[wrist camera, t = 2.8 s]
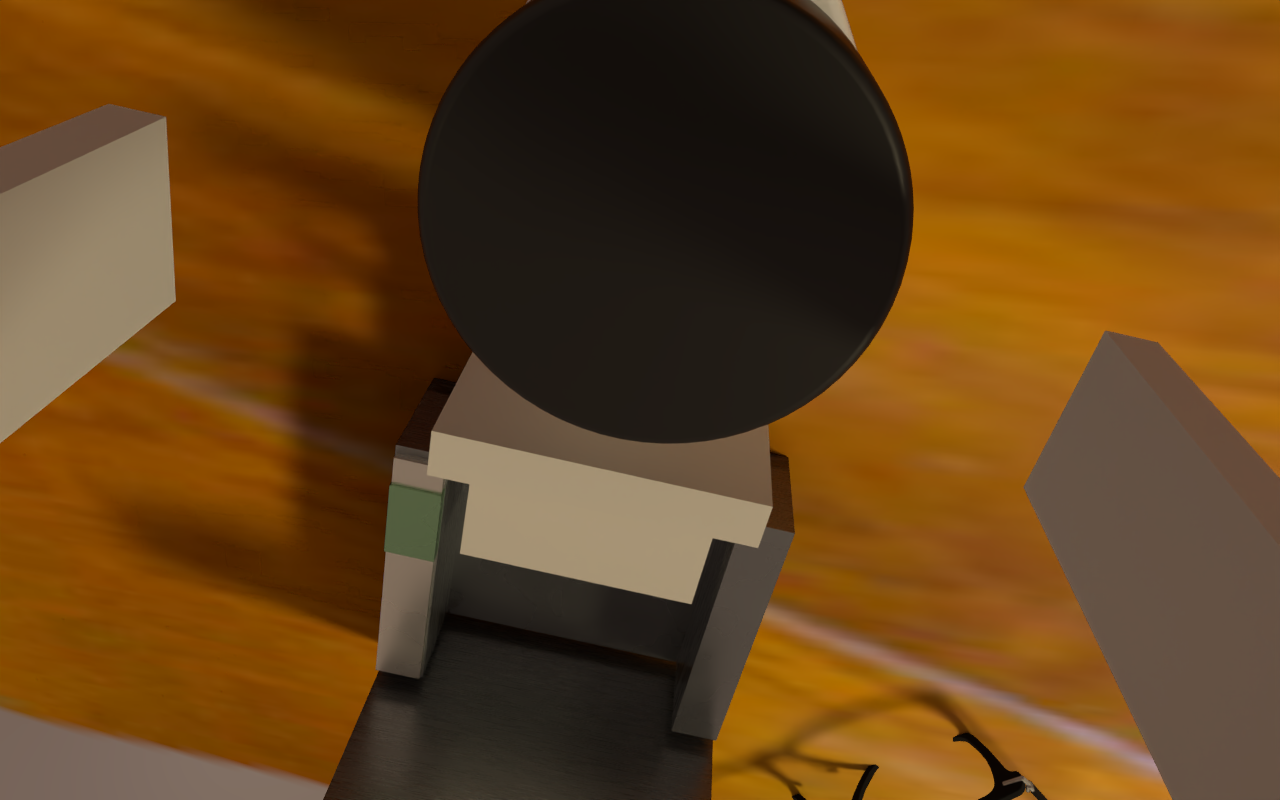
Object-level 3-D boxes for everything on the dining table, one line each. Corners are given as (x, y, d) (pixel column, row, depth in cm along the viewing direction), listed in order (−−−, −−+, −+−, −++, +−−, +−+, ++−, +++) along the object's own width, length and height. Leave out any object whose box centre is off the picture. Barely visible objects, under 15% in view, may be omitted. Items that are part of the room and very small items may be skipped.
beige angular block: (511, 277, 27) (431, 430, 20) (763, 334, 28) (772, 507, 20) (479, 495, 32) (403, 686, 24) (697, 543, 32) (686, 747, 25)
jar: (480, -18, 24) (298, 79, 14) (774, -165, 22) (808, -175, 12) (621, 275, 28) (557, 517, 18) (883, 175, 26) (979, 387, 16)
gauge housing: (433, 377, 31) (316, 584, 22) (788, 457, 31) (808, 690, 22) (404, 652, 37) (306, 892, 29) (696, 715, 38) (685, 970, 29)
